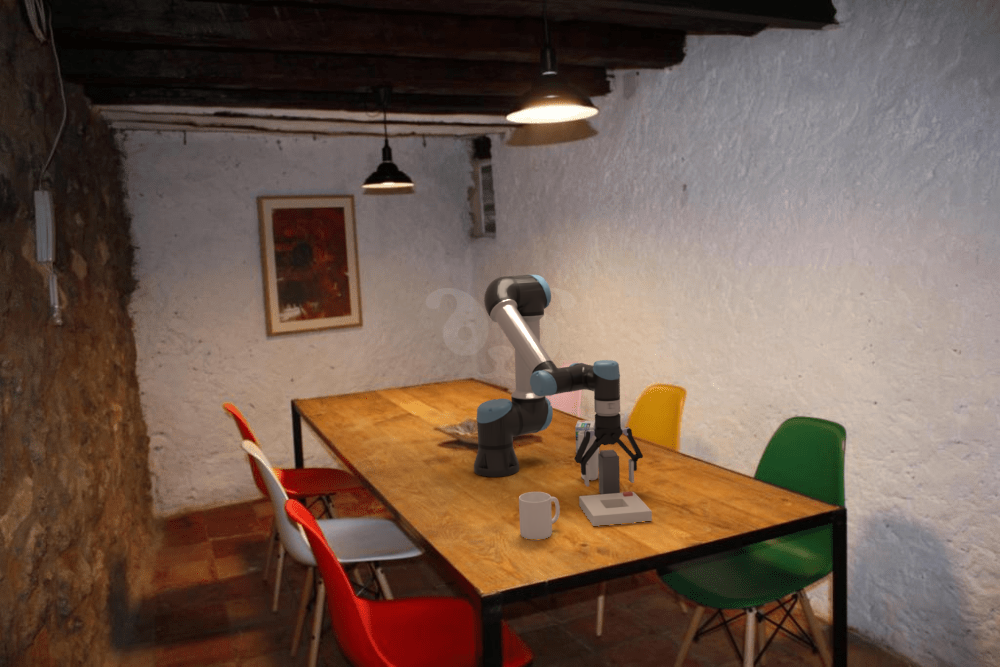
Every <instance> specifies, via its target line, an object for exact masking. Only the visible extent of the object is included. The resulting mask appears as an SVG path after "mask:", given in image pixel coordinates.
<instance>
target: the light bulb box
mask: <svg viewBox="0 0 1000 667" xmlns="http://www.w3.org/2000/svg"><path fill="white" fill-rule="evenodd" d="M574 430H575V455H576V454H577V452H578V449H579V447H578V432H580V431H584V430H595V420H580V419H578V420H577V422H576V425H575V427H574Z"/></svg>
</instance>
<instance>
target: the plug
mask: <svg viewBox="0 0 1000 667" xmlns="http://www.w3.org/2000/svg"><path fill="white" fill-rule="evenodd" d="M620 476H621V475H620V456H619V455H618V453H617V452H616V451H615V449H604V450H603V449H601V450H599V453H598V493H599V492H600V493H599V495H600V494H612V493H621V484H620V482H621V481H620V480H621V478H620Z"/></svg>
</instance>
